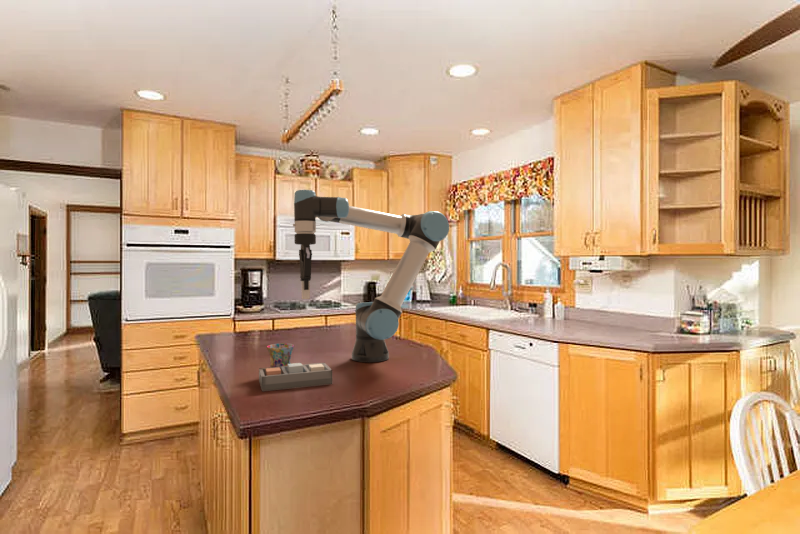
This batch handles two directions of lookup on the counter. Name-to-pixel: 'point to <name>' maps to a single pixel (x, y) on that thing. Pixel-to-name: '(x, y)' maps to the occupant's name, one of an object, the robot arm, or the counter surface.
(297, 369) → the key middle
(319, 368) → the key
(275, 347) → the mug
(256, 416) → the counter surface
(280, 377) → the grey compartment tray
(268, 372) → the key
